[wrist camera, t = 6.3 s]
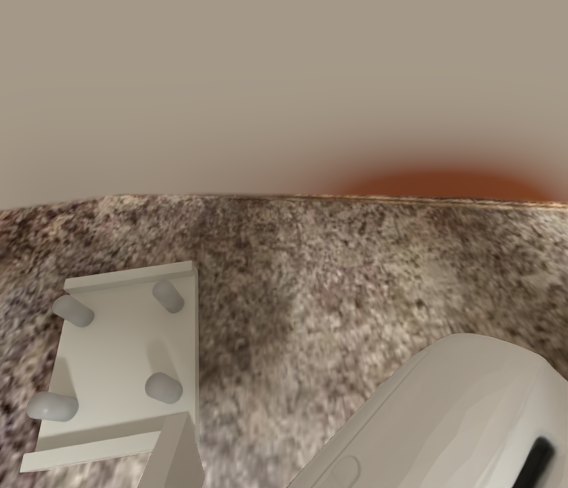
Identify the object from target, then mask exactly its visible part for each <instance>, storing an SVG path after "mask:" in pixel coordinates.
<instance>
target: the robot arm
mask: <svg viewBox="0 0 568 488" xmlns="http://www.w3.org/2000/svg"><path fill="white" fill-rule="evenodd" d="M203 480H204V471H203V467H202V463H201V460H200V456H199V452H198V448H197V444H196V440H195V436H194V432H193V428H192V424H191V420H190V416H189V412H188V413H182V414H177V415H171V416H167V418H166V421H165V423H164V425H163V428H162V430H161V433H160V435H159V437H158V440H157V442H156V444H155V447H154V449H153V452H152V454H151V456H150V459H149V461H148V463H147V466H146V468H145V471H144V473H143V475H142V478H141V480H140V483H139V485H138V487H137V488H202V485H203Z"/></svg>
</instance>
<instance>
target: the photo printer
mask: <svg viewBox="0 0 568 488" xmlns="http://www.w3.org/2000/svg"><path fill="white" fill-rule="evenodd" d="M286 488H568V381H567V380H566V379H564V378H563V377H562V376H561V375H560V374H559V373H558V372H557V371H556V370H555V369H554V368H553V367H552V366H551V365H550V364H549V363H548V362H547V361H546V359H545V358H543V357H542V356H540V355H538V354H536V353H534V352H532V351H530V350H527V349H525V348H523V347H520V346H518V345H515V344H512V343H509V342H506V341H503V340H500V339H497V338H494V337H490V336H484V335H479V334H471V333H456V334H451V335H448V336H445V337H443V338H441V339H439V340H438V341H436V342H434V343H433V344H431V345H429V346H428V347H426V348H425V349H423V350H422V351H421V352H419V353H417V354H415V355H414V356H412V357H411V358H410V359H409V360H408V361H406V362H405V363H404V364H403V365H402V366H401V367H400V368H399V369H398V370H397V371H396V372H395V373H394V374H393V375H392V376H391V377H390V378H389V379H388V380H387V381H385V382H383V383H382V384H380V385H379V386H378V388H377V390H376V391H375V392H374V393H373V394H372V395H371V397H370V398H369V399H368V400H367V401H366V402H365V403H364V404H363V405H362V406H361V407H360V408H359V409H358V410H357V411H356V412H355V413H354V414H353V415H352V416H351V417H350V419H349V420H348V421H347V422H346V423H345V424H344V425H343V426H342V427H341V428H340V429H339V430H338V432H337V433H336V434H335V435H334V436H333V437H332V438H331V439H330V440H329V441H328V442H327V443H326V445H325V446H324V447H323V448H322V449H321V450H320V451H319V452H318V453H317V454H316V455H315V456H314V458H313V459H312V460H311V461H310V462H309V463H308V464H307V465H306V466H305V467H304V469H303V470H302V471H301V472H300V473H299V474H298V475H297V476H296V477H295V479H294V480H293V481H292V482H291V483H290V484H289V485H288V486H287V487H286Z"/></svg>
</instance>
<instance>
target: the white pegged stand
mask: <svg viewBox="0 0 568 488" xmlns="http://www.w3.org/2000/svg"><path fill="white" fill-rule="evenodd" d="M63 290H65V291H66V292H68V293H69V294H70V295H63V296H61V297H59V298H58V299H56V300H55V302H54V303H53V305H52V311H53V312H54V313H55V314H57V315H58V316H60V317H62V318H64V319H65V320H64V324H63V329H62V333H61V337H60V342H59V346H58V351H57V355H56V360H55V364H54V369H53V373H52V378H51V382H50V387H49V391H48V392H47V391H42V392H39V393H37V394H36V395H34V396H33V397H32V398H31V400H30V401H29V403H28V406H27V414H28V416H29V417H31V418H35V419H42V423H41V427H40V432H39V436H38V441H37V445H36V450H35V452H33V453H28V454H24V457H23V461H22V465H21V469H20V472H33V471H44V470H50V469H56V468H61V467H67V466H73V465H78V464H84V463H90V462H95V461H101V460H107V459H113V458H118V457H124V456H130V455H135V454H141V453H147V452H152V451H153V449H154V447H155V444H156V442H157V440H158V437H159V435H160V433H161V430H162V428H163V425H164V423H165V421H166V418H167V416H171V415H177V414H182V413H188V412H189V416H190V420H191V424H192V428H193V432H194V436H195V440H196V444H198V443H200V420H199V303H198V271H197V269H196V267H195V265H194V263H193V262H192V260H190V261H184V262H177V263H170V264H164V265H157V266H150V267H143V268H137V269H130V270H123V271H117V272H110V273H103V274H96V275H90V276H83V277H76V278H70V279H66V280H65V284H64V288H63Z"/></svg>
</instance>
